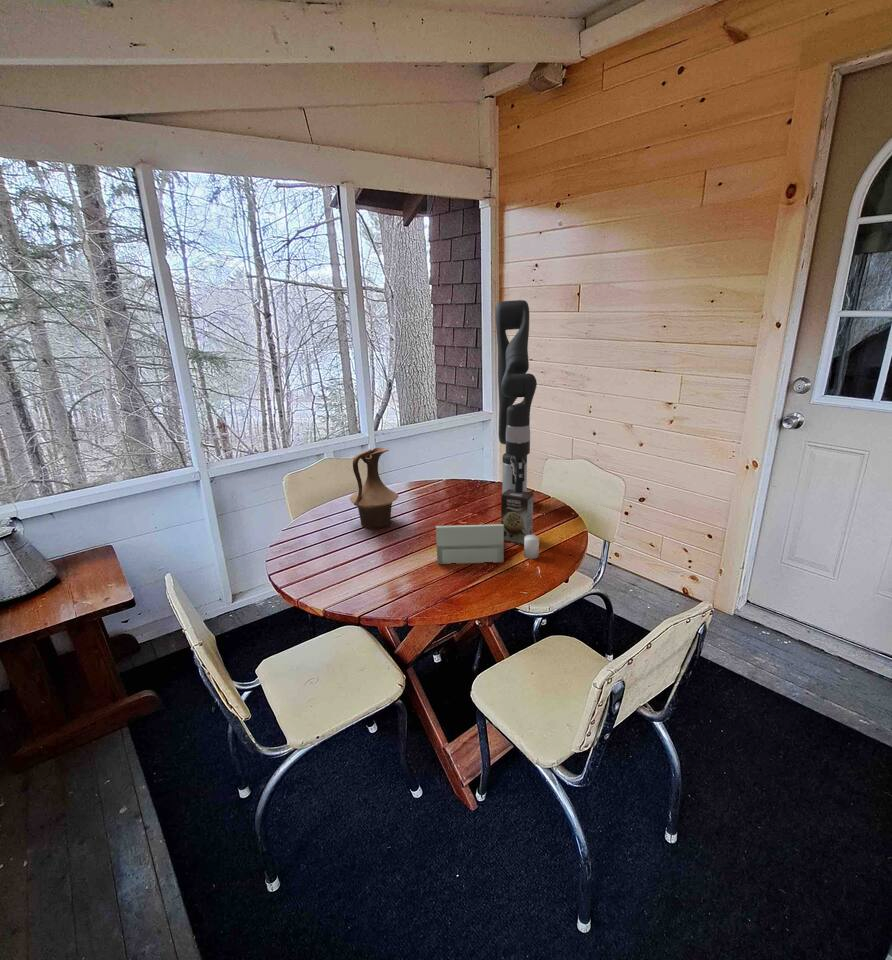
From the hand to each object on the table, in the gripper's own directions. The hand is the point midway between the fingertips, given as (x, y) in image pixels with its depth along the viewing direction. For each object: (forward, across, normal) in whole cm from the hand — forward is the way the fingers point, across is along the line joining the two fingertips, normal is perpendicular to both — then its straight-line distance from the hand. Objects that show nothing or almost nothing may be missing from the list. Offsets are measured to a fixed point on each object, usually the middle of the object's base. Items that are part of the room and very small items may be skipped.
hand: (517, 488), depth 164 cm
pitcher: (+18, -16, -49) cm, 55 cm away
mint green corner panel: (+18, +9, -16) cm, 26 cm away
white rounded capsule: (+18, +12, +3) cm, 22 cm away
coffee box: (+18, 0, 0) cm, 18 cm away
